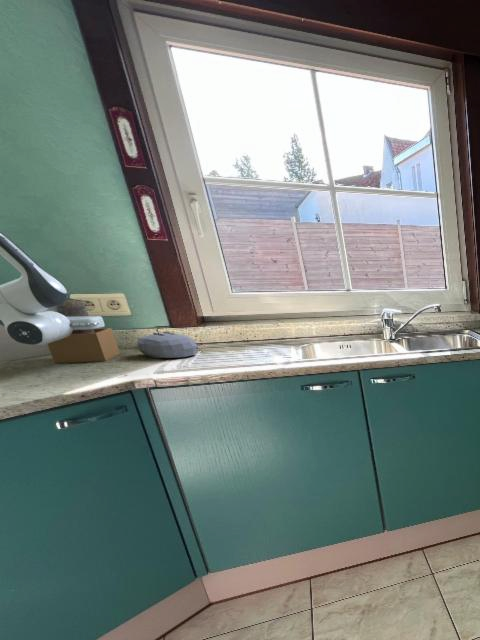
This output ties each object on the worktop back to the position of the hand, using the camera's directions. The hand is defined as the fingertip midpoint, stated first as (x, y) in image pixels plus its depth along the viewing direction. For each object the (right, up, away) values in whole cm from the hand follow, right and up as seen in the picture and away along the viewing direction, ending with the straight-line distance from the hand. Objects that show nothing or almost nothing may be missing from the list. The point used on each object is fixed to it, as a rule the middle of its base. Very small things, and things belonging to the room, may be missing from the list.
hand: (71, 320), depth 167 cm
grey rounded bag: (+21, -9, +15) cm, 28 cm away
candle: (-1, -11, +7) cm, 14 cm away
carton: (-2, -12, +7) cm, 14 cm away
